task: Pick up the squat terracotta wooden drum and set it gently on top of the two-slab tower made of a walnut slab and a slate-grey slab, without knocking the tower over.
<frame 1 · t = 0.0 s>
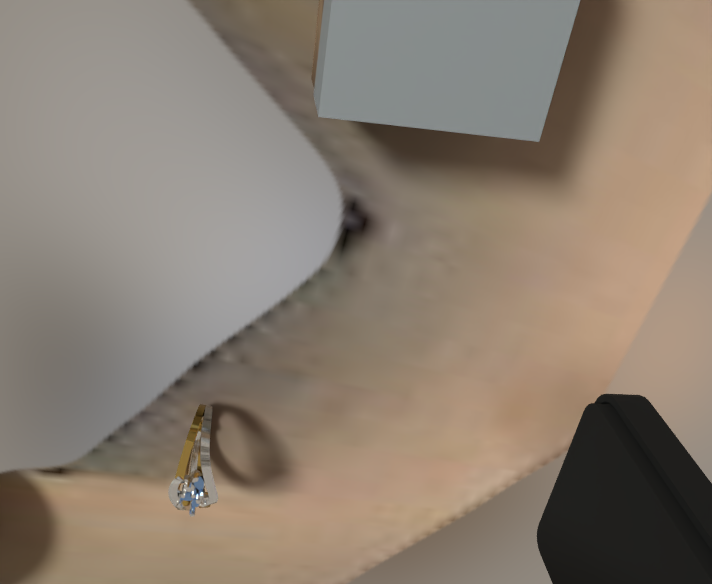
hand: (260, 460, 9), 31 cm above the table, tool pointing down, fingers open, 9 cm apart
ring: (203, 417, 49), on the table
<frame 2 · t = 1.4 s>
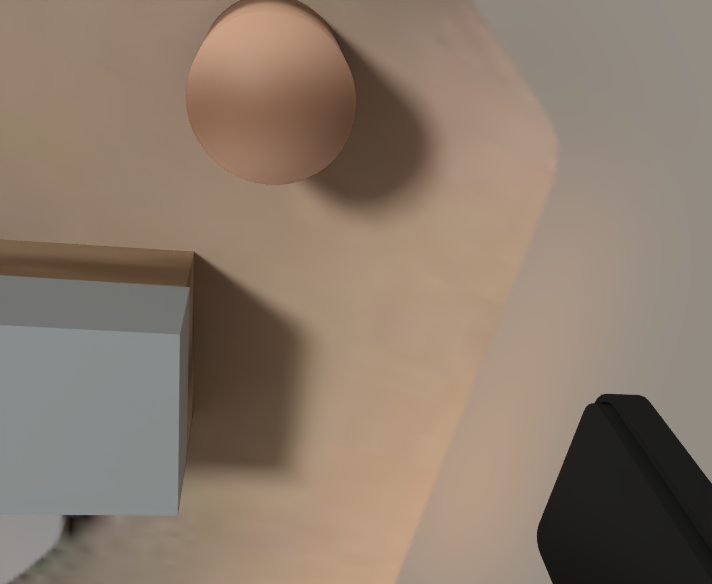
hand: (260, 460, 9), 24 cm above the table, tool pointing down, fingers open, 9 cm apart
upper slab: (75, 374, 33), point 4 cm above the table, touching lower slab
lower slab: (92, 330, 36), on the table, touching upper slab
drum: (272, 70, 30), on the table
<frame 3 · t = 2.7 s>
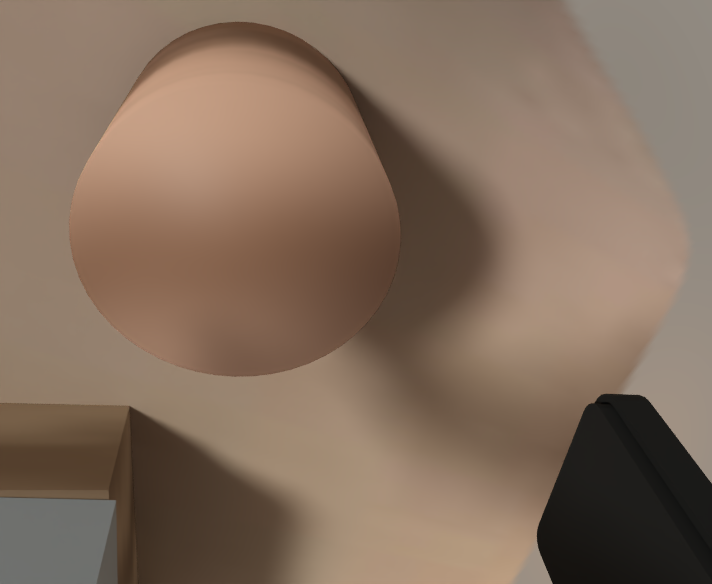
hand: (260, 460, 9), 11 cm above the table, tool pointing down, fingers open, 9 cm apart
drum: (246, 145, 18), on the table
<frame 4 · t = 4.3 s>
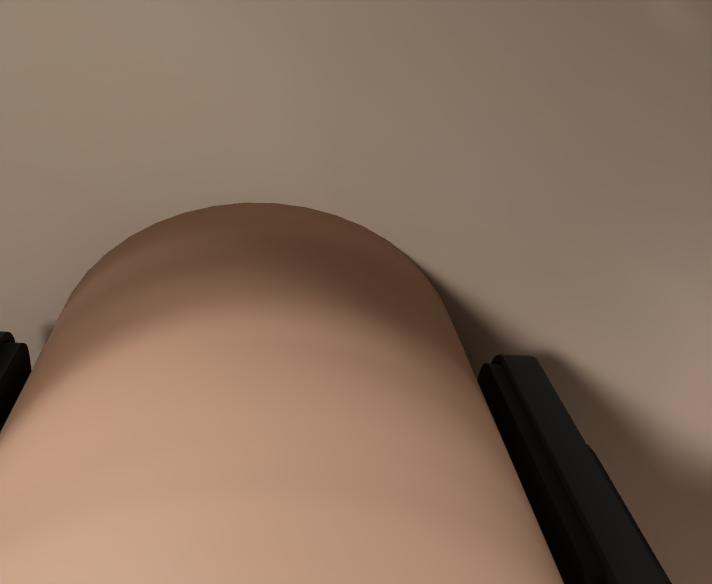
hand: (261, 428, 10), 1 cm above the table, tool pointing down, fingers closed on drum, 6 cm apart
drum: (262, 387, 11), on the table, touching gripper
when the fingers open (10 cm above the table, at t = 11.8 s): drum drops 1 cm, resting on upper slab.
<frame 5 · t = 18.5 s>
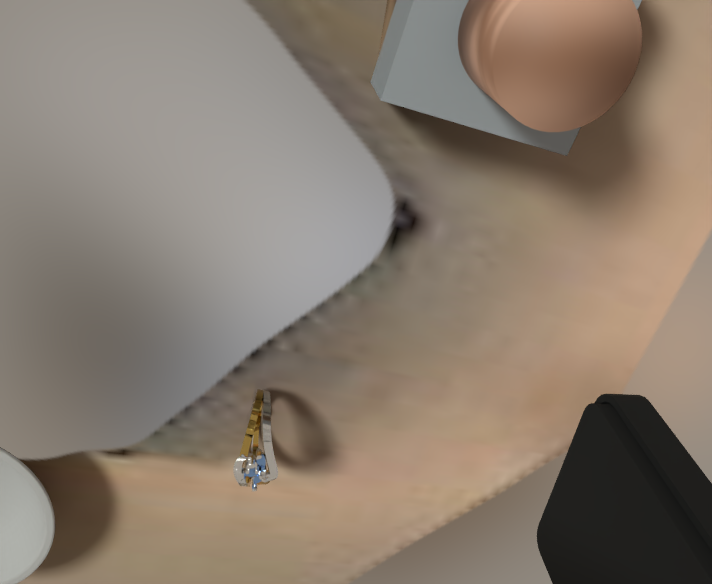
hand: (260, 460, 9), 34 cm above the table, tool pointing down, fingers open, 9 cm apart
ring: (257, 402, 53), on the table
upper slab: (496, 12, 36), point 4 cm above the table, touching drum, lower slab
drum: (520, 33, 33), point 8 cm above the table, touching upper slab
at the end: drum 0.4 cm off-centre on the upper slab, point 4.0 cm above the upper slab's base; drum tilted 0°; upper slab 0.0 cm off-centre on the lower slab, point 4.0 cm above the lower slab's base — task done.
